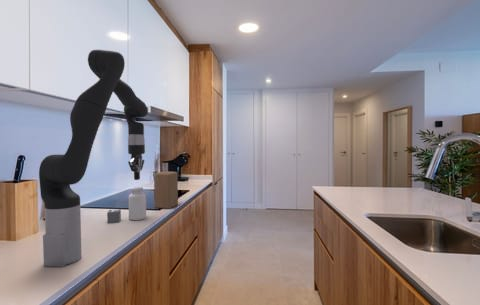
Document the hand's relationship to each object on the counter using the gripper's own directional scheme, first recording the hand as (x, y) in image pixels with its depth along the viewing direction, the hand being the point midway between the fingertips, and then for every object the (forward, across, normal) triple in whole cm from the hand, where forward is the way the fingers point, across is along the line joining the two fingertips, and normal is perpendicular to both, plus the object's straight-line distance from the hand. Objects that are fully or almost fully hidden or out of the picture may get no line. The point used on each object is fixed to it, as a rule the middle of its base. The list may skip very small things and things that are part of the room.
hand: (137, 179), depth 127 cm
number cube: (+19, -5, +9) cm, 22 cm away
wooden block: (+19, +24, -6) cm, 31 cm away
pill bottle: (+19, 0, 0) cm, 19 cm away
